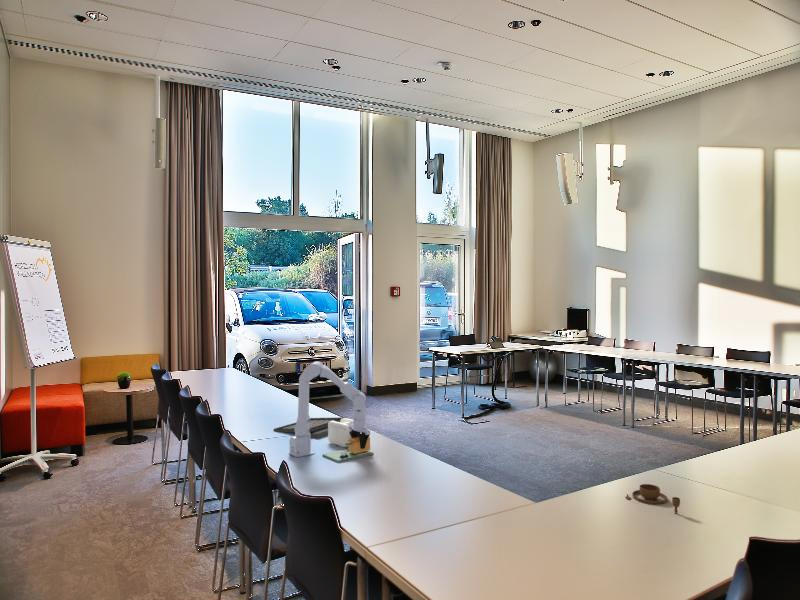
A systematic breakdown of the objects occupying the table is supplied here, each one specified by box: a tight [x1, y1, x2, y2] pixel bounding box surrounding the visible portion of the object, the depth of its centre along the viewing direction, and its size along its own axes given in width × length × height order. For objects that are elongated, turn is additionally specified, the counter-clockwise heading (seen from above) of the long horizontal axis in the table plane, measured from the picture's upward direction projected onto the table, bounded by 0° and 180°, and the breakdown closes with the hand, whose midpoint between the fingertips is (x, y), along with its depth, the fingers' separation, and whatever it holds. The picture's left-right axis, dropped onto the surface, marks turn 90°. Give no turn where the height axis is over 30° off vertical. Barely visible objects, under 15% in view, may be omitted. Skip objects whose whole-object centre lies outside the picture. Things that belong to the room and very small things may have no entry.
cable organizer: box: [327, 418, 362, 448], centre depth 285 cm, size 15×11×12 cm
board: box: [322, 448, 374, 463], centre depth 264 cm, size 20×13×1 cm, turn 130°
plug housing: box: [346, 436, 371, 454], centre depth 265 cm, size 12×5×6 cm, turn 130°
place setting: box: [625, 483, 681, 515], centre depth 205 cm, size 18×20×6 cm
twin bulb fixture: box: [340, 450, 349, 458], centre depth 258 cm, size 4×1×3 cm, turn 130°
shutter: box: [273, 416, 347, 440], centre depth 316 cm, size 32×7×31 cm
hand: (359, 447), depth 266 cm, fingers closed on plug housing, 5 cm apart
